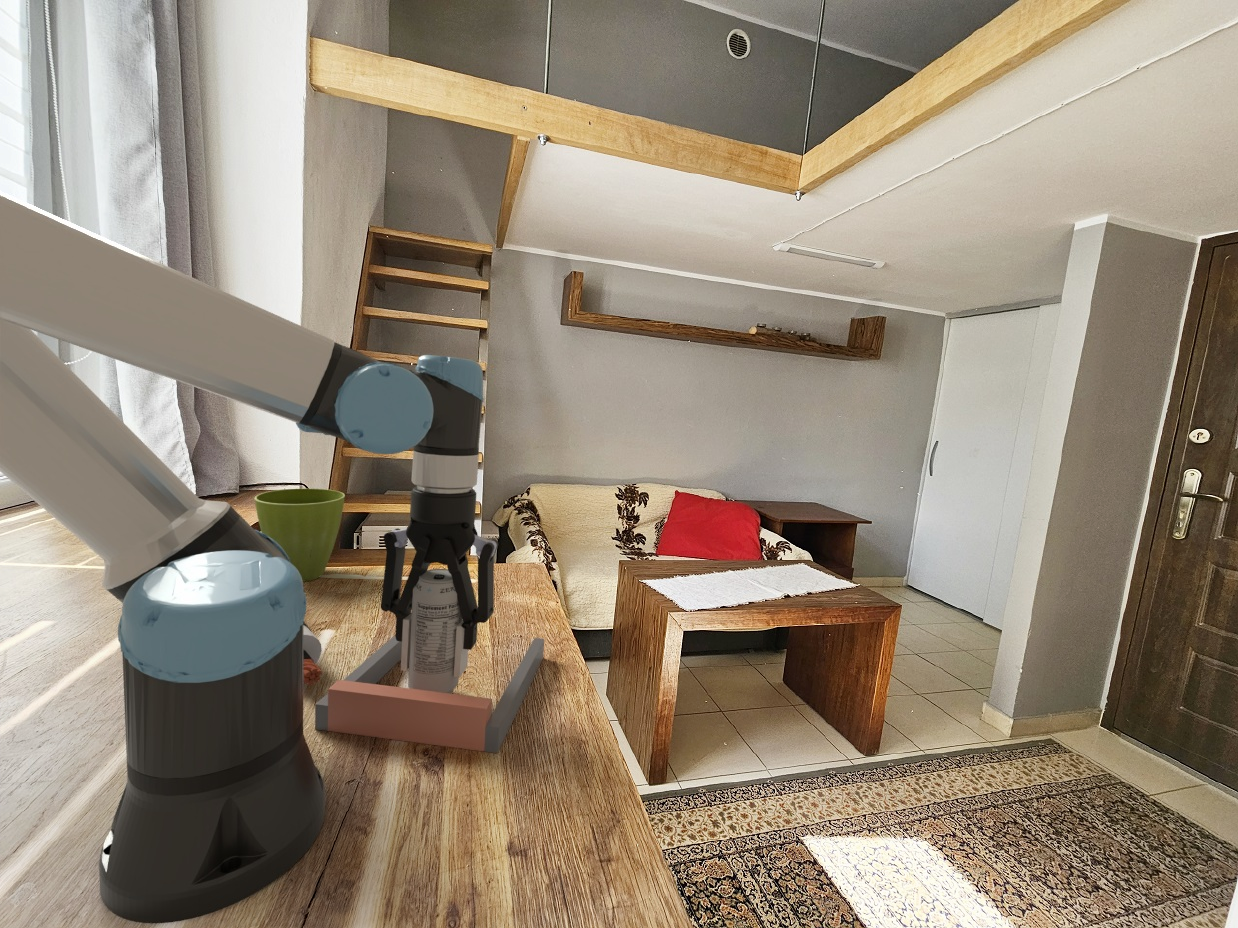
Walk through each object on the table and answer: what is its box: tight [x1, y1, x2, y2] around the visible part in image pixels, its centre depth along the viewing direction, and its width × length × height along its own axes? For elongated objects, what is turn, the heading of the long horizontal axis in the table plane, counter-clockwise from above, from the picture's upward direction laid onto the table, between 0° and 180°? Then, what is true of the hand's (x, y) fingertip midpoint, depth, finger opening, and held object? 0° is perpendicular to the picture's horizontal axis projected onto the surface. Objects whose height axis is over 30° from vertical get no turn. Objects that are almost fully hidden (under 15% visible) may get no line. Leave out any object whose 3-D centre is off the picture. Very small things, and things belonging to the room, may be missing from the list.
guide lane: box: [314, 634, 545, 754], centre depth 71 cm, size 22×21×5 cm
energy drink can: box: [407, 568, 463, 694], centre depth 67 cm, size 6×6×15 cm
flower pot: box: [254, 488, 346, 582], centre depth 105 cm, size 15×15×16 cm
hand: (434, 668), depth 68 cm, fingers closed on energy drink can, 6 cm apart
